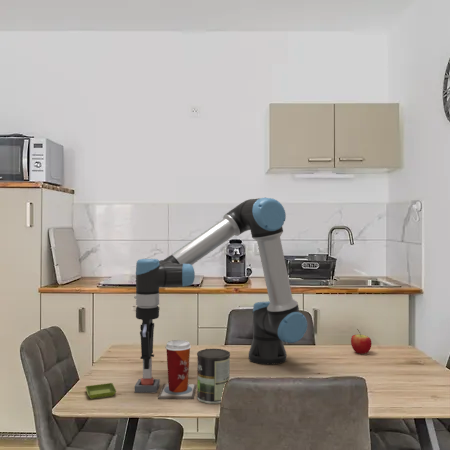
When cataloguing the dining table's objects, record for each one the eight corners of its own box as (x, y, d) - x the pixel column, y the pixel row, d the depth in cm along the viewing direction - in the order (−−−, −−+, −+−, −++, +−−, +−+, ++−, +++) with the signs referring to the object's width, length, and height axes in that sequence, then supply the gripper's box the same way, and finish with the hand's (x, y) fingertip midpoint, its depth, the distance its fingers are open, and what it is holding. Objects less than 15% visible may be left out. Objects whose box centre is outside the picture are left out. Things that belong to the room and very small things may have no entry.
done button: (154, 385, 160) (154, 376, 160) (152, 389, 156) (152, 380, 156) (142, 384, 160) (142, 376, 160) (140, 389, 156) (140, 380, 156)
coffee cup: (187, 394, 150) (187, 346, 150) (161, 392, 152) (161, 345, 151) (194, 385, 158) (194, 340, 158) (170, 383, 160) (170, 338, 160)
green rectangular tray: (88, 401, 147) (88, 395, 147) (85, 392, 155) (85, 386, 155) (116, 398, 150) (116, 391, 150) (112, 388, 159) (112, 382, 159)
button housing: (159, 385, 161) (159, 379, 161) (156, 392, 154) (156, 386, 154) (138, 384, 161) (138, 379, 161) (134, 392, 154) (134, 386, 154)
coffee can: (197, 404, 144) (197, 357, 144) (196, 392, 154) (196, 348, 154) (231, 403, 145) (231, 357, 145) (228, 391, 155) (228, 348, 155)
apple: (354, 349, 207) (355, 326, 207) (374, 352, 202) (374, 329, 202) (347, 353, 201) (347, 329, 201) (367, 357, 196) (367, 332, 196)
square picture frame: (196, 386, 160) (196, 382, 160) (193, 399, 148) (193, 395, 148) (163, 385, 161) (163, 381, 161) (158, 398, 149) (158, 394, 149)
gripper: (139, 302, 164) (139, 371, 164) (131, 309, 151) (131, 384, 151) (161, 302, 164) (161, 371, 164) (155, 309, 151) (155, 384, 151)
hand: (147, 377), depth 158 cm, fingers closed
